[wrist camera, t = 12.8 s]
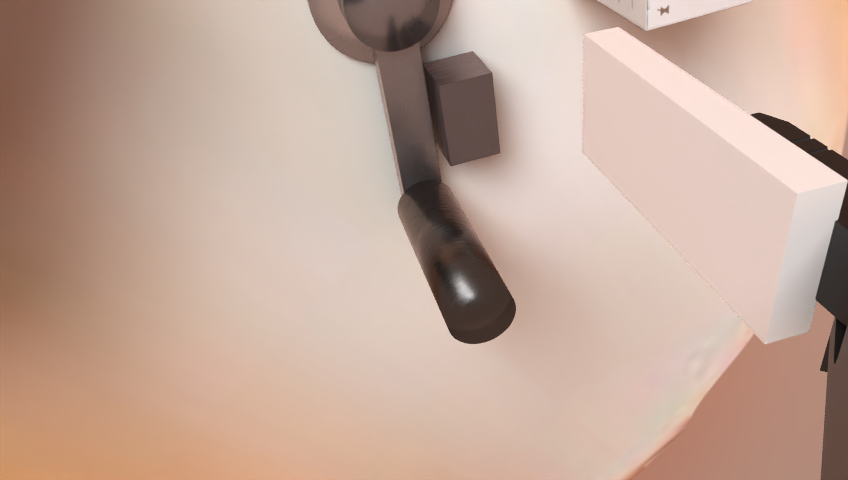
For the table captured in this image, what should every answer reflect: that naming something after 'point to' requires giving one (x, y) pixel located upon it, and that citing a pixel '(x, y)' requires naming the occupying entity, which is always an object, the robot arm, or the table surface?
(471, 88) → the lever
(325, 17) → the pivot disc
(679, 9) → the small box
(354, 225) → the table surface
